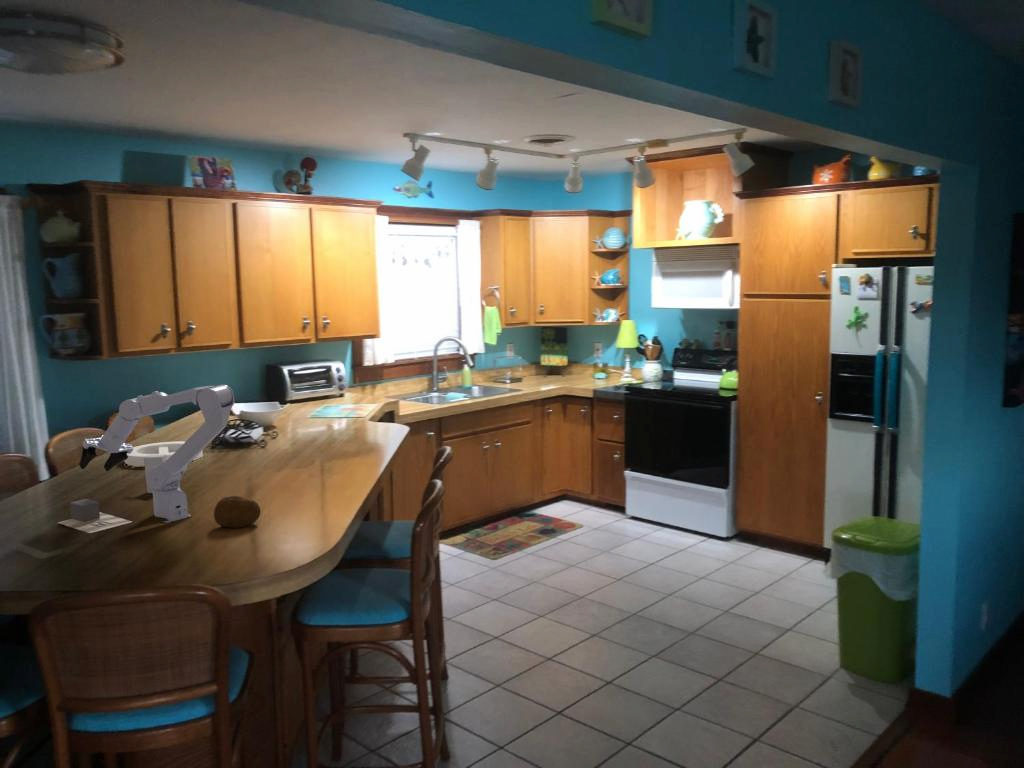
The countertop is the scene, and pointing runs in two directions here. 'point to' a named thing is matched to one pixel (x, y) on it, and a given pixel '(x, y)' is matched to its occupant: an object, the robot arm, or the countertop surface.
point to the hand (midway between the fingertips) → (93, 467)
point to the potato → (236, 512)
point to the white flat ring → (154, 452)
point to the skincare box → (153, 465)
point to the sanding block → (85, 510)
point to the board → (96, 523)
